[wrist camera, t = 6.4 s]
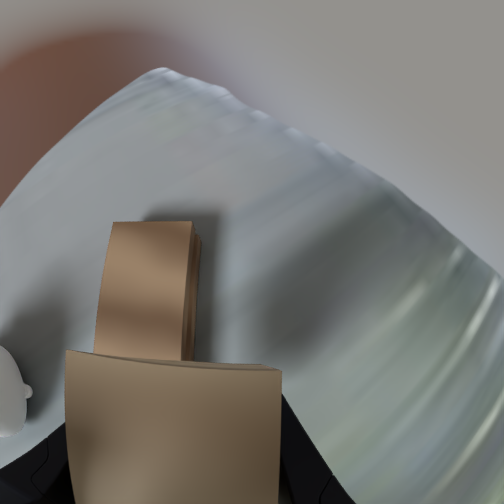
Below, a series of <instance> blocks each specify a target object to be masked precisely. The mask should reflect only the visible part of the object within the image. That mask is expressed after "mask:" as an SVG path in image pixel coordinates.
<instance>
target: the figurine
mask: <svg viewBox="0 0 504 504" xmlns="http://www.w3.org/2000/svg"><path fill="white" fill-rule="evenodd" d="M32 394H33V391H32V388H31V387H30V386H29V385H26V384H24V383H23V380H22V377H21V374H20V371H19V369H18V366H17V364H16V362H15V360H14V359H13V357H12V356H11V354H10V353H9V352H8V351H7V350H6V349H5V348H3V347H2V346H0V437H9V436H12V435H15V434H17V433H19V432H20V431H21V430H22V428H23V426H24V424H25V420H26V413H27V402H26V398H30V397H31V396H32Z"/></svg>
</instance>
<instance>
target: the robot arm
mask: <svg viewBox="0 0 504 504" xmlns="http://www.w3.org/2000/svg"><path fill="white" fill-rule="evenodd" d="M0 504H76V503H75V498H74V493H73V487H72V481H71V475H70V468H69V460H68V451H67V440H66V425H65V422H64V423H63V424H62V425H61V426H60V427H58V428H57V429H56V430H55V431H54V432H52V433H51V434H50V435H49V436H48V438H45V439H44V440H43V441H41V442H40V443H39V444H38V445H36V446H35V447H34V448H32V449H31V450H30V451H28V452H27V453H25V454H24V455H22V456H21V457H19V458H18V459H16V460H14V461H13V462H11V463H9V464H8V465H6V466H4V467H3V468H1V469H0ZM278 504H356V503H355V502H354V501H353V500H352V499H351V497H350V496H349V495H348V494H347V492H346V491H345V490H344V488H343V487H342V486H341V484H340V483H339V482H338V480H337V479H336V477H335V476H334V475H333V473H332V471H331V470H330V468H329V467H328V465H327V464H326V462H325V461H324V459H323V458H322V456H321V455H320V453H319V452H318V450H317V448H316V447H315V445H314V444H313V442H312V441H311V439H310V438H309V436H308V434H307V433H306V431H305V430H304V428H303V427H302V425H301V423H300V422H299V420H298V419H297V417H296V415H295V414H294V412H293V410H292V409H291V407H290V406H289V404H288V402H287V401H286V399H285V397H284V396H283V394H281V437H280V466H279V489H278Z"/></svg>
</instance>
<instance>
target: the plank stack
mask: <svg viewBox="0 0 504 504" xmlns="http://www.w3.org/2000/svg"><path fill="white" fill-rule="evenodd" d="M200 252H201V240H200V237H199V235H195V228H194V225H193V223H192V221H144V222H113V226H112V230H111V235H110V239H109V244H108V249H107V254H106V259H105V265H104V270H103V276H102V282H101V289H100V296H99V303H98V311H97V319H96V329H95V340H94V354H102V355H111V356H120V357H131V358H143V359H158V360H177V361H194V340H195V321H196V304H197V290H198V276H199V264H200Z"/></svg>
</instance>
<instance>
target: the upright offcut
mask: <svg viewBox="0 0 504 504" xmlns="http://www.w3.org/2000/svg"><path fill="white" fill-rule="evenodd" d="M281 394H282V371H281V370H278V369H274V368H271V367H268V366H264V365H261V364H230V363H209V362H194V361H177V360H158V359H143V358H131V357H120V356H111V355H102V354H94V353H87V352H79V351H73V350H66V360H65V425H66V440H67V451H68V460H69V468H70V475H71V481H72V487H73V493H74V498H75V503H76V504H278V489H279V466H280V437H281Z"/></svg>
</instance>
